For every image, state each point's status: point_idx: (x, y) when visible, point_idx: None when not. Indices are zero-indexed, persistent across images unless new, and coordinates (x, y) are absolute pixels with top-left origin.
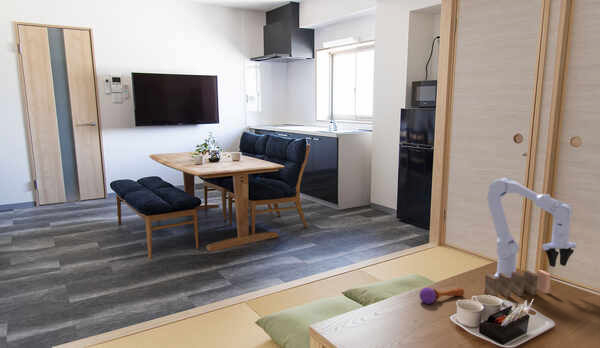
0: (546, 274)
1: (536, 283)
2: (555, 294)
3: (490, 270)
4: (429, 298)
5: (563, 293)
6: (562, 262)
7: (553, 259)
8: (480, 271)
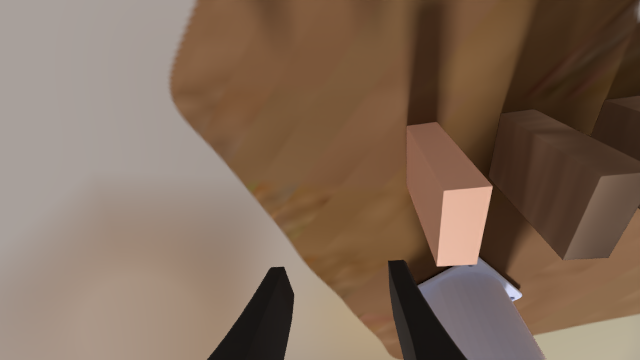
0: (489, 190)
1: (553, 141)
2: (382, 107)
3: None
4: None
5: (325, 119)
6: (284, 305)
7: (453, 341)
8: None
